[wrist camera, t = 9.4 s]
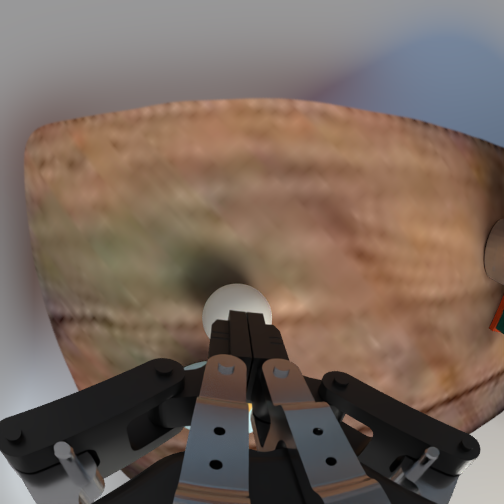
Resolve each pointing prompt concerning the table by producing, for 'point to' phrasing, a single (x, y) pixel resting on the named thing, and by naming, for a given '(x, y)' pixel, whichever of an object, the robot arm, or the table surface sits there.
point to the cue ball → (234, 304)
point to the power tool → (498, 319)
